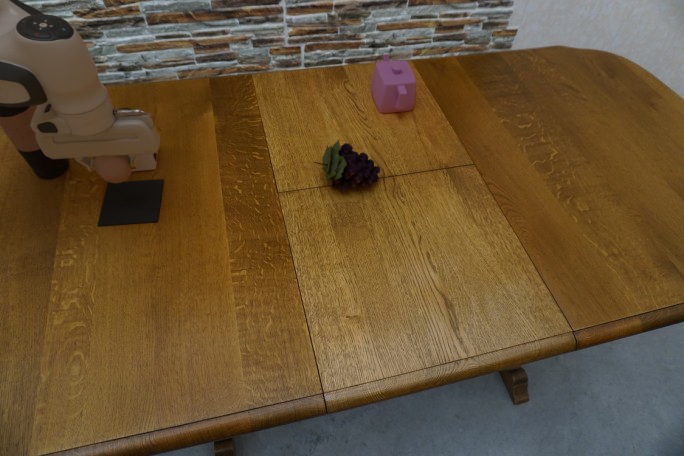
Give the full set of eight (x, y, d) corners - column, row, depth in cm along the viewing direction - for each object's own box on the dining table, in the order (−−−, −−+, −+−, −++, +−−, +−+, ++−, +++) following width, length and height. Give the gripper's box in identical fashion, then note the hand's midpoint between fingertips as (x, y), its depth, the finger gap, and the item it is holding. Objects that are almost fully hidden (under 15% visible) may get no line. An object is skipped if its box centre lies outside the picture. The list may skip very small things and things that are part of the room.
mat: (97, 226, 95) (97, 225, 95) (108, 183, 102) (107, 182, 102) (157, 222, 96) (157, 221, 96) (163, 180, 103) (163, 179, 103)
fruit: (372, 202, 106) (309, 194, 102) (369, 164, 111) (309, 155, 107) (389, 178, 97) (321, 168, 93) (385, 138, 102) (320, 127, 98)
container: (158, 146, 110) (141, 102, 99) (156, 170, 105) (138, 125, 95) (124, 149, 109) (104, 104, 98) (121, 173, 104) (99, 128, 94)
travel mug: (35, 184, 101) (-18, 111, 85) (33, 161, 105) (-18, 87, 89) (72, 174, 103) (27, 101, 87) (69, 152, 107) (25, 78, 91)
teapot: (365, 80, 129) (368, 46, 121) (401, 77, 130) (406, 44, 122) (380, 122, 118) (384, 89, 110) (419, 118, 120) (426, 85, 112)
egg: (101, 193, 91) (82, 159, 84) (105, 169, 95) (87, 135, 87) (136, 189, 92) (121, 156, 85) (138, 165, 96) (123, 131, 88)
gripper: (151, 97, 83) (170, 153, 94) (29, 102, 80) (64, 159, 92) (146, 120, 79) (167, 176, 90) (19, 126, 77) (57, 183, 88)
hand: (114, 167), depth 91 cm, fingers closed on egg, 6 cm apart
